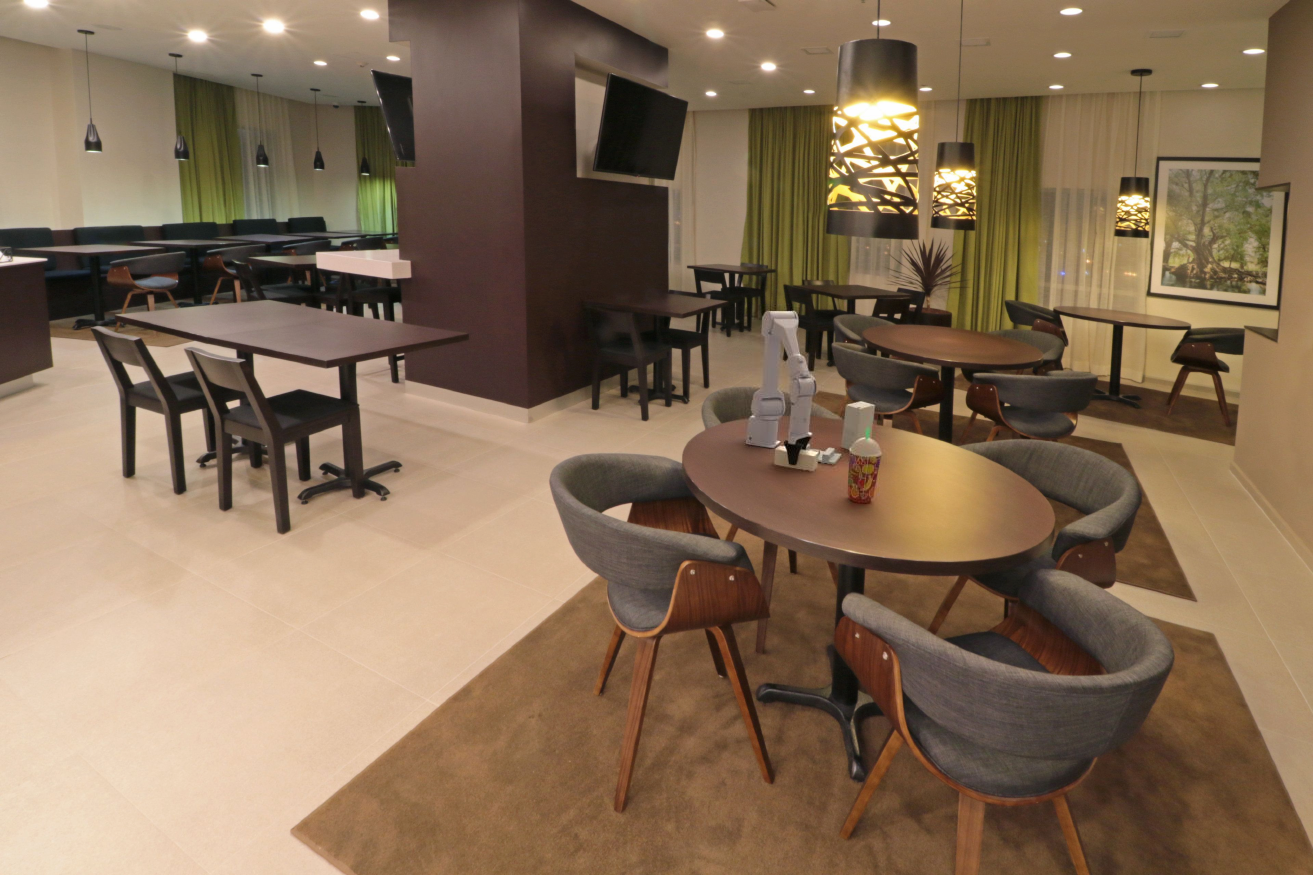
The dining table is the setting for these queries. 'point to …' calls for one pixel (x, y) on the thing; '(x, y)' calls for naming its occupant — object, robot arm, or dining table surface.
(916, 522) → the dining table surface
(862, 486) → the smoothie
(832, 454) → the display stand
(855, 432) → the skincare box
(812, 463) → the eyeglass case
